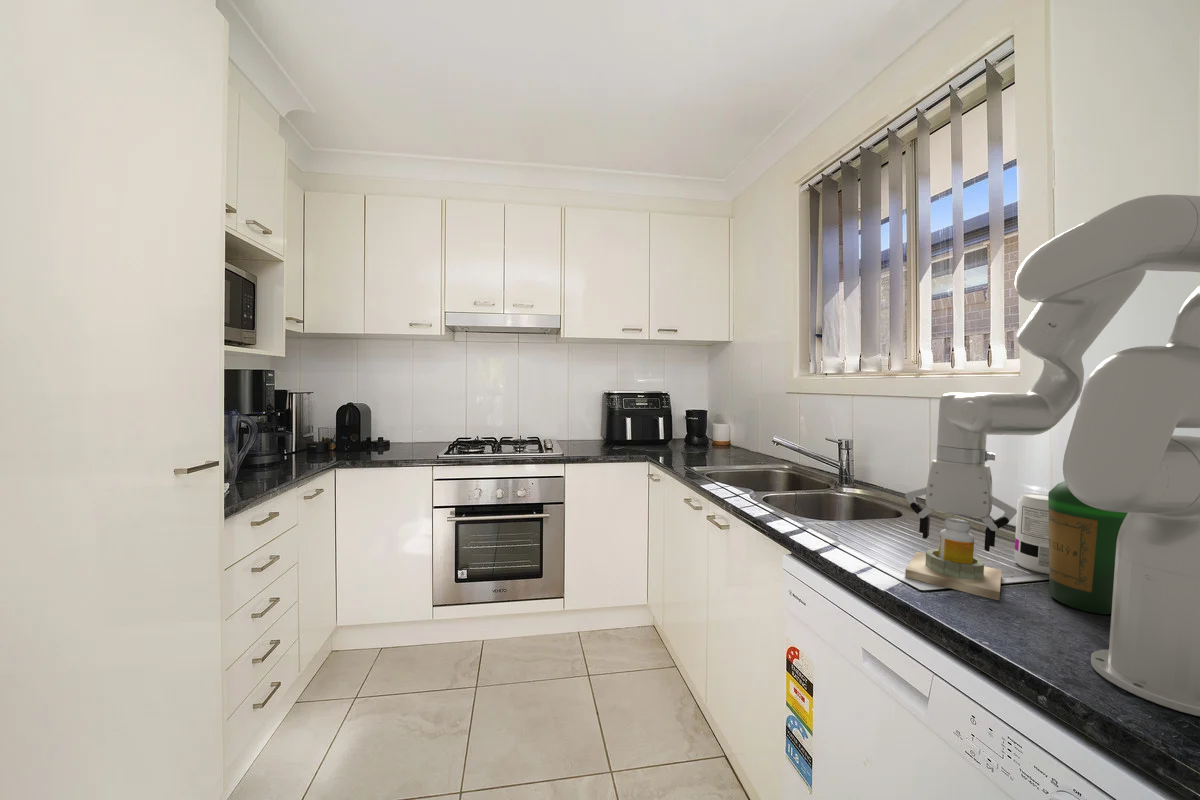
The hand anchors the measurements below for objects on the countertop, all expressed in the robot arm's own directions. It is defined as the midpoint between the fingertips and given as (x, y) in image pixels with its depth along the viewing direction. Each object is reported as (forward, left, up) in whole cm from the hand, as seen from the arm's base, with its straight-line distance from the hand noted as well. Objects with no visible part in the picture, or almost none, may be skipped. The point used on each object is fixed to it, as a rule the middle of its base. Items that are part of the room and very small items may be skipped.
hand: (955, 543), depth 92 cm
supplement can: (-13, -20, -7) cm, 25 cm away
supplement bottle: (0, 0, -6) cm, 6 cm away
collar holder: (0, 0, -7) cm, 7 cm away
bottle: (-18, -2, -7) cm, 19 cm away
